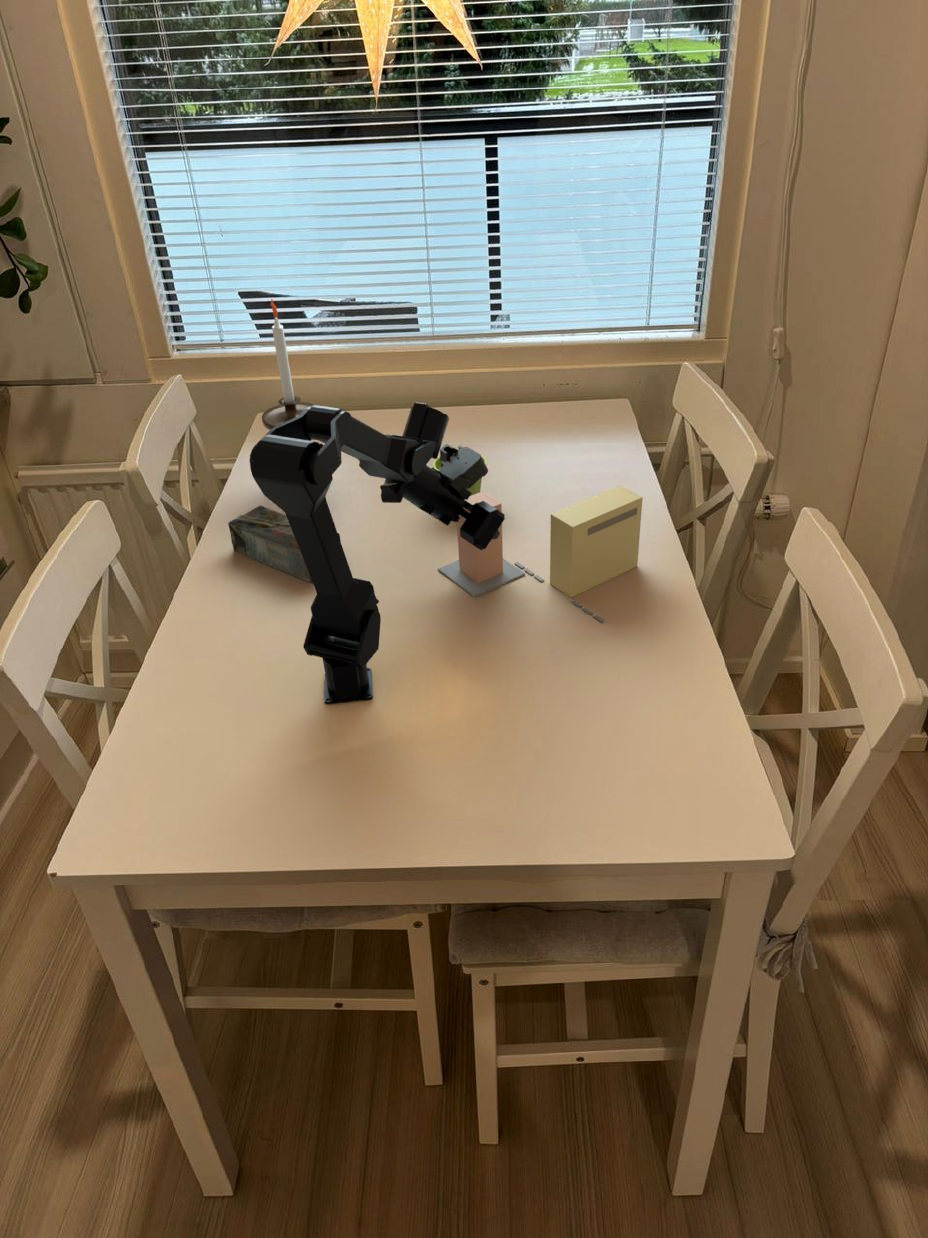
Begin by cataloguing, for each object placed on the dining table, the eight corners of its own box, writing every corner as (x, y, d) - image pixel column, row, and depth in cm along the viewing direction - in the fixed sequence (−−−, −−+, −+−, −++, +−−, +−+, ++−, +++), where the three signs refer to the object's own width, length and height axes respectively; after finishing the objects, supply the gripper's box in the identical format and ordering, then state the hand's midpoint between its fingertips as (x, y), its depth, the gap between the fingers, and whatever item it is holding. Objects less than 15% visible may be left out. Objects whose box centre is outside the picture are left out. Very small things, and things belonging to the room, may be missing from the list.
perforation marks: (601, 622, 137) (601, 621, 137) (514, 564, 151) (514, 563, 151) (604, 621, 137) (604, 620, 137) (517, 562, 151) (517, 561, 151)
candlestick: (268, 479, 179) (234, 296, 159) (322, 467, 183) (295, 286, 162) (283, 503, 171) (248, 313, 151) (339, 490, 175) (313, 302, 154)
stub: (478, 583, 146) (475, 513, 139) (459, 569, 150) (455, 501, 142) (503, 572, 148) (501, 503, 141) (484, 559, 152) (481, 491, 145)
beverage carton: (266, 532, 163) (260, 499, 160) (346, 564, 154) (342, 530, 150) (232, 552, 158) (224, 519, 154) (313, 586, 149) (307, 551, 145)
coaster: (474, 597, 144) (474, 595, 144) (438, 570, 150) (438, 568, 150) (524, 574, 148) (524, 573, 148) (487, 549, 155) (487, 547, 155)
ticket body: (571, 597, 142) (572, 527, 135) (549, 583, 146) (550, 513, 139) (637, 566, 149) (642, 497, 141) (615, 553, 152) (619, 485, 145)
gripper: (492, 461, 127) (553, 507, 138) (417, 419, 140) (479, 464, 151) (448, 529, 128) (512, 569, 139) (378, 481, 141) (442, 522, 152)
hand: (486, 528), depth 145 cm, fingers open, 6 cm apart
